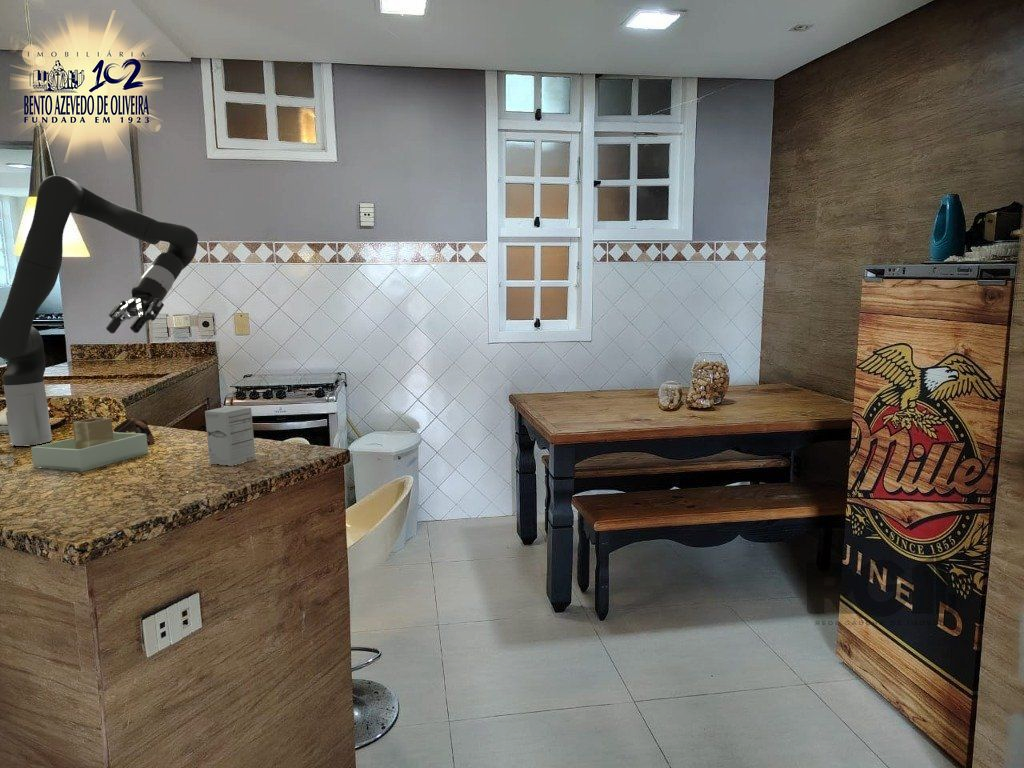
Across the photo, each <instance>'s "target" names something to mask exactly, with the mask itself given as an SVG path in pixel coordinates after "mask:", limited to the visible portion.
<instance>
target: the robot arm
mask: <svg viewBox="0 0 1024 768" xmlns="http://www.w3.org/2000/svg"><path fill="white" fill-rule="evenodd" d="M71 213H72V214H75V215H79V216H83V217H87V218H90V219H94V220H97V221H99V222H100V223H103V224H105V225H108V226H110V227H112V228H113V229H115V230H117V231H119V232H121V233H123V234H125V235H128V236H130V237H131V238H135V239H138V240H140V241H141V242H144V243H147V244H150V245H157V244H159V243H160V242H161V241H162V242H166V243H169V246H168V248H167V250H166V251H165V252H162V253H160V254H159V255H157V257H156V258H155V259H154V261H152V263H151V264H150V265H149V266H148V268H146V270H145V271H144V273H142V275H141V277H140V278H139V279H138V280H137V282H136V283H135V285H134V286H133V287H132V289H131V298H130V299H128V300H127V301H125V300H124V299H120V300H119V301H118V302H117V303H116V305H115V306H114V307H113V309H112V310H110V313H109V314H108V316H109V317H110V318H111V321H110V322H109V323H108V325H107V326H106V327H105V328H106V331H108V332H109V333H110V334H115V333H116V331H117V330H118V329H119V327H120V326H121V324H123V322H125V321H126V320H131V319H132V318H134V317H136V316H137V317H136V318H135V320H134V321H133V323H132V324H130V327H129V329H130V330H131V331H132V332H133V333H134V334H138V333H140V331H141V330H142V328H143V327H144V326H145V324H146V323H148V322H150V321H151V322H153V321H156V319H157V317H158V315H159V314H160V312H161V311H162V309H163V307H164V306H165V304H164V303H163V301H164V299H165V297H166V296H167V295H168V293H169V291H170V290H172V288H173V285H174V283H175V282H176V280H177V279H178V277H179V275H180V274H181V273H182V271H183V270H184V269H186V267H188V266H189V264H191V262H192V261H193V259H194V258H195V256H196V254H197V249H198V248H197V247H198V244H199V237H198V234H197V233H196V232H195V231H194V230H193V229H191V228H190V227H188V226H185V225H183V224H178V223H174V222H168V221H161V220H158V219H156V218H154V217H152V216H148V215H147V214H144V213H142V212H139V211H137V210H134V209H133V208H129V207H126V206H123V205H121V204H118V203H115V202H113V201H110V200H108V199H106V198H103V197H102V196H99V195H97V194H96V193H94V192H92V191H91V190H89V189H88V188H86V187H84V186H83V185H81V184H79V182H77V181H75V180H74V179H72V178H69V177H66V176H63V175H58V174H57V175H56V174H55V175H50V176H47V177H46V178H44V179H43V180H42V181H41V183H40V184H39V186H38V190H37V196H36V202H35V208H34V214H33V217H32V218H33V219H32V222H31V224H30V225H31V226H30V228H29V231H28V233H27V236H26V238H25V242H24V243H23V244H24V245H23V248H22V251H21V254H20V257H19V260H18V262H17V266H16V269H15V273H14V277H13V280H12V284H11V286H10V290H9V294H8V297H7V299H6V303H5V305H4V308H3V310H2V313H1V315H0V359H1V358H2V359H4V360H7V363H8V364H7V365H8V366H7V369H6V370H5V372H4V373H3V374H2V384H3V391H4V398H5V404H6V413H5V416H6V422H7V428H8V429H7V431H8V436H9V443H12V445H18V446H24V445H34V444H40V443H45V442H49V441H51V440H52V441H53V437H52V429H51V422H50V415H49V414H50V413H49V407H48V400H47V391H46V386H45V385H46V383H45V380H44V379H45V377H44V375H45V371H46V358H45V356H46V355H45V348H44V341H43V337H42V335H41V333H40V332H39V330H38V329H37V328H35V327H34V326H33V322H34V319H35V316H36V314H37V312H38V310H39V308H41V306H42V304H44V302H45V301H46V299H47V298H48V296H50V294H51V292H52V290H54V288H55V285H56V282H57V280H58V277H59V274H60V270H61V266H62V263H63V253H64V252H63V251H64V250H63V248H64V247H63V240H64V239H63V238H64V231H65V228H66V225H67V222H68V220H69V217H70V215H71ZM152 312H153V313H152ZM12 445H11V446H12Z"/></svg>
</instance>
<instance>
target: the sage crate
mask: <svg viewBox="0 0 1024 768" xmlns="http://www.w3.org/2000/svg"><path fill="white" fill-rule="evenodd" d="M113 437H114V441H112V442H108V443H104V444H99V445H95V446H91V447H87V448H83V449H76V446H75V438H74V437H71V438H67V439H66V438H65V439H63V440H57V441H54V442H53V441H52V442H50V443H46V444H42V445H36V446H30V449H31V450H30V451H31V457H32V464H33V468H34V467H41V468H49V469H48V470H53V469H59V470H58V471H66V470H68V472H70V471H71V472H86V471H89V470H90V471H91V470H93V469H97V468H100V467H104V466H108V465H111V464H115V463H117V462H122V461H125V460H129V459H132V458H136V457H140V456H144V455H146V454H147V455H148V454H149V445H148V444H149V443H148V440H147V436H146V434H140V433H136V432H126V433H119V432H114V431H113Z"/></svg>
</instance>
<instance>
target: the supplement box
mask: <svg viewBox="0 0 1024 768" xmlns="http://www.w3.org/2000/svg"><path fill="white" fill-rule="evenodd" d="M204 416H205V427H206V437H207V447H208V449H207V450H208V457H209V459H208V460H209V464H210V465H217V464H219V466H225V465H228V466H227V467H230V466H232V465H235V464H238V463H242V462H245V461H249V460H252V459H255V458H256V448H255V439H254V438H255V437H254V427H253V415H252V407H244V406H243V407H242V406H230V405H228V406H227V405H226V406H223V407H222V406H221V407H218V408H214V409H213V408H212V409H209V410H205V411H204ZM255 460H256V459H255ZM249 462H250V461H249ZM232 467H233V466H232Z"/></svg>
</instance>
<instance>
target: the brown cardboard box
mask: <svg viewBox="0 0 1024 768" xmlns="http://www.w3.org/2000/svg"><path fill="white" fill-rule="evenodd" d="M112 421H113V420H112V418H111V417H92V418H86V419H81V420H77V421H73V422H72V429H73V431H72V432H73V438H75V446H76V449H83V448H87V447H91V446H95V445H99V444H104V443H108V442H112V441H114V437H113V432H114V431H113V429H114V428H113V422H112Z"/></svg>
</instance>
